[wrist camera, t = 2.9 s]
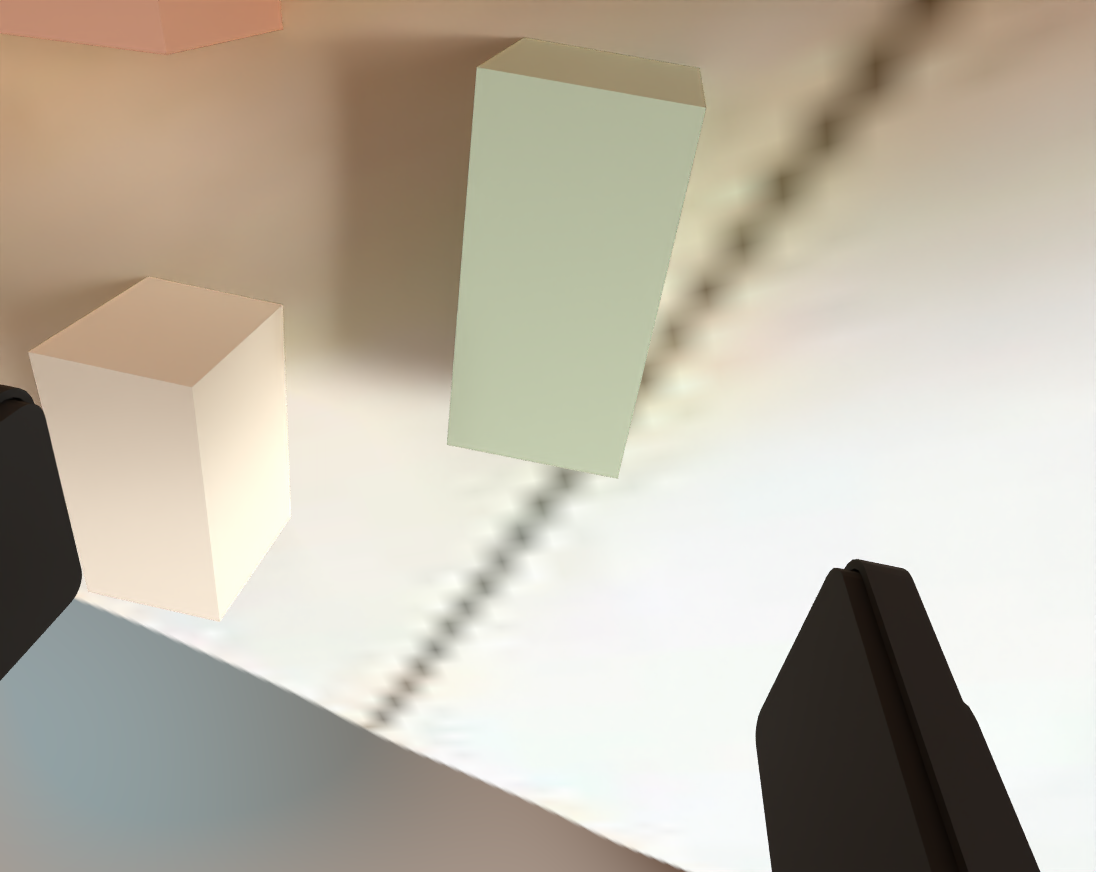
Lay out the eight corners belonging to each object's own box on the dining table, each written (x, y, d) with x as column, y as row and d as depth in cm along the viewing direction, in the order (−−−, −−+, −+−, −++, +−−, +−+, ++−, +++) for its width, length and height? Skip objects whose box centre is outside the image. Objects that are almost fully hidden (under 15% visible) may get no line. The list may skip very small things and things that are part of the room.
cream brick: (150, 274, 22) (27, 351, 18) (284, 303, 22) (191, 387, 18) (181, 490, 26) (88, 592, 22) (292, 514, 26) (220, 621, 22)
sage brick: (525, 36, 17) (476, 66, 13) (699, 67, 17) (706, 108, 13) (491, 348, 22) (447, 444, 18) (629, 375, 22) (617, 478, 17)
